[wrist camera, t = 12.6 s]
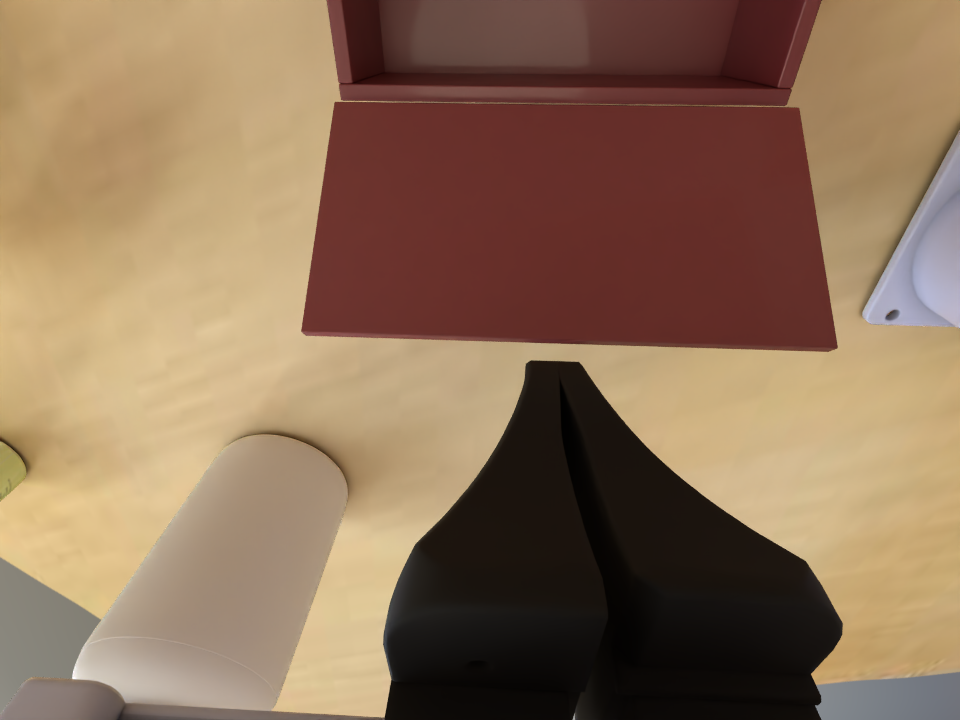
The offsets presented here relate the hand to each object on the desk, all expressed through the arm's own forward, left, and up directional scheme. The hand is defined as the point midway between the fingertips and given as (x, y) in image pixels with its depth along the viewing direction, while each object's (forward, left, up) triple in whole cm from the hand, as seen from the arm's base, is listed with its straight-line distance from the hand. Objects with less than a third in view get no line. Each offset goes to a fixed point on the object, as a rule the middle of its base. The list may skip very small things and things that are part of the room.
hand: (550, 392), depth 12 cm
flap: (0, -4, -2) cm, 4 cm away
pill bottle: (+14, +14, -9) cm, 22 cm away
